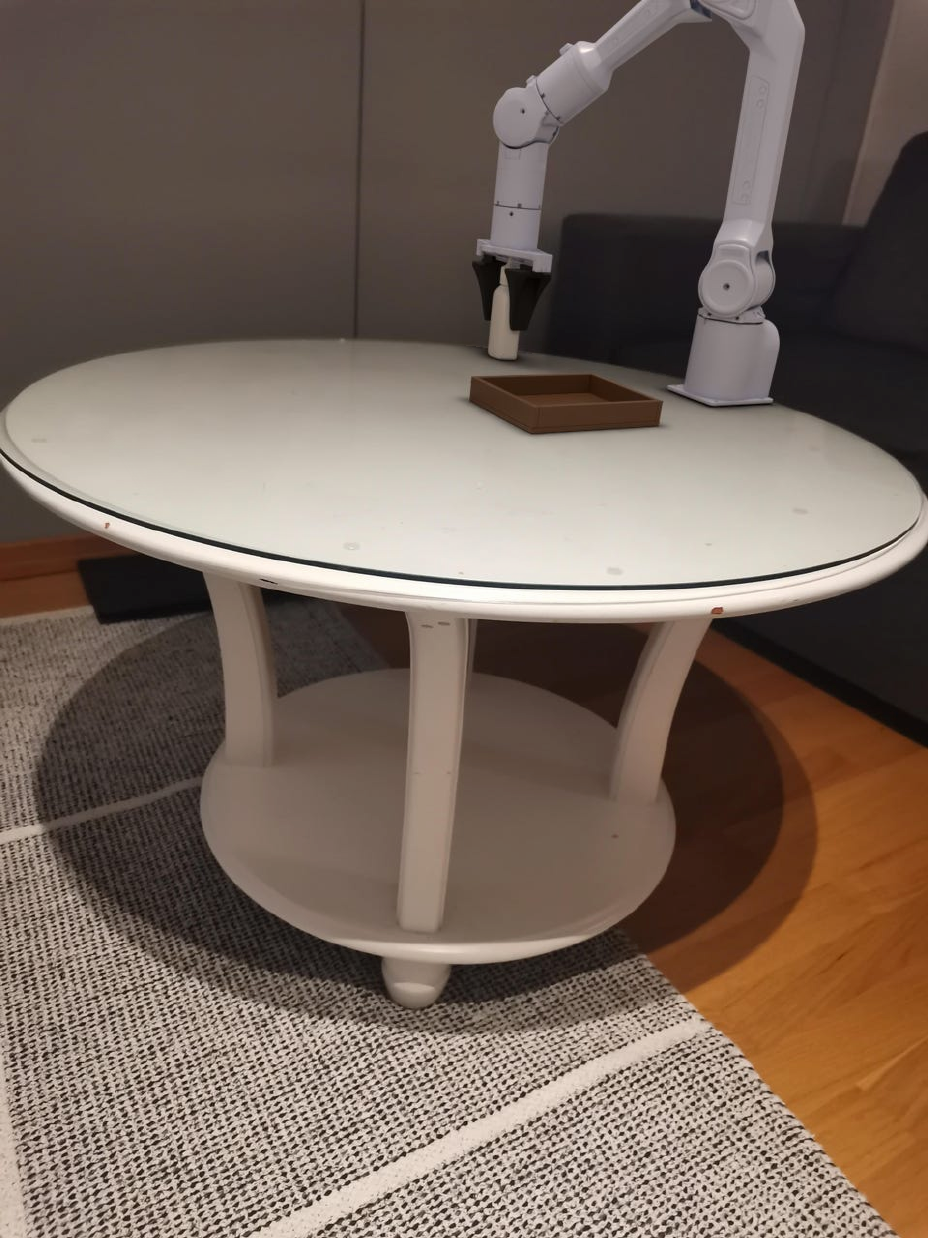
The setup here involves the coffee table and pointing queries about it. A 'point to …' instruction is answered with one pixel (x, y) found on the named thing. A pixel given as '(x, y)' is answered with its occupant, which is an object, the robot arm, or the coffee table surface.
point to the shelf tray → (564, 402)
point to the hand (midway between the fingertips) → (505, 325)
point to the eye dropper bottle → (502, 322)
